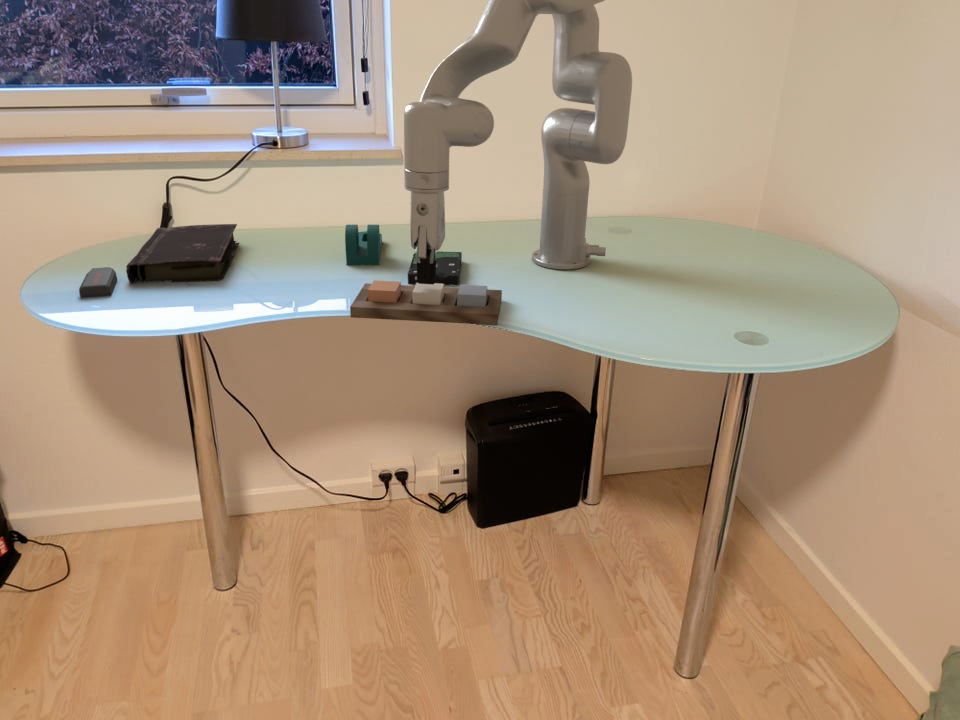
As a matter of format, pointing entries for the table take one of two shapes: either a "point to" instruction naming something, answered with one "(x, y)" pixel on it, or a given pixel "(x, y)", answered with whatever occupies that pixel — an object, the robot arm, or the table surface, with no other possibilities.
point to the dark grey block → (98, 283)
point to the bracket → (363, 245)
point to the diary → (185, 254)
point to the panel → (428, 308)
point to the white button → (428, 294)
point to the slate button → (472, 296)
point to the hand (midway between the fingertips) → (426, 282)
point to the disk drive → (440, 268)
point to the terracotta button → (384, 291)
